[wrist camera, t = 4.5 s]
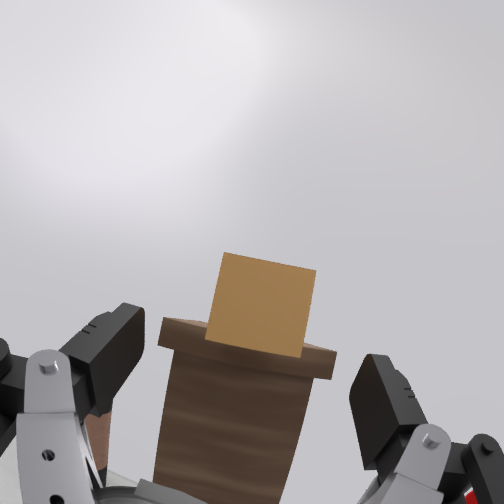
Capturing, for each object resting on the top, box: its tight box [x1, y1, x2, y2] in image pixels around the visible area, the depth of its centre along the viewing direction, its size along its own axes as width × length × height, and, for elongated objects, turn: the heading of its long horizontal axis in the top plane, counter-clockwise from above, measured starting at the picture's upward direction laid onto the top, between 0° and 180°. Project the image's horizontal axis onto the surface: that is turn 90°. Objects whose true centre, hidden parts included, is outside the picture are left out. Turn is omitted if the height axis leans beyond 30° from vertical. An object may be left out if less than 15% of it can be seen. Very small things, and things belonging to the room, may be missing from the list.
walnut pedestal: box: [153, 317, 337, 504], centre depth 23 cm, size 16×12×32 cm
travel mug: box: [84, 400, 113, 488], centre depth 28 cm, size 8×8×20 cm
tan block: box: [205, 252, 316, 358], centre depth 22 cm, size 26×3×3 cm, turn 1°
